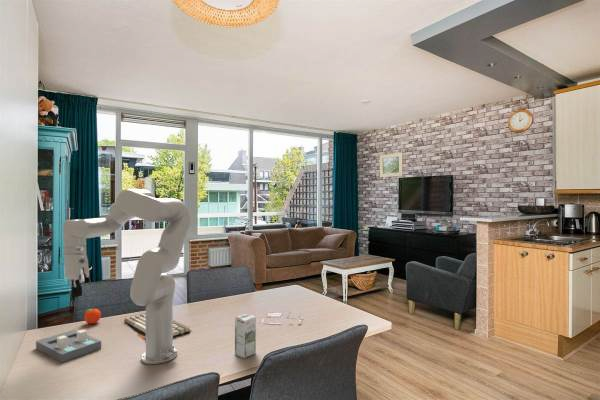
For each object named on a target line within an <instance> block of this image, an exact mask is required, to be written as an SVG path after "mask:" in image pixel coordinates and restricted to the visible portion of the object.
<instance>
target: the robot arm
mask: <svg viewBox="0 0 600 400" xmlns="http://www.w3.org/2000/svg"><path fill="white" fill-rule="evenodd" d="M108 209H109V210H108V211H109V213H108V214H107V215H105V216H103V217H93V218H84V219H83V218H82V219H80V218H79V219H67V220H64V221H63V223H62V233H63V234H62V237H63V256H64V277H65V278H66V279H67V280H68V282H69V284H70V287H71V288H70V289H71V290H70V291H71V295H70V296H71V297H72V298H79V297H81V296H82V295H83V283H85V281H86V279H87V278H89V277H90V269H89V259H88V255H87V239H92V238H97V237H104V236H105V237H106V236H108V235H110V234H112V233H114V232H116V231H118V230H119V229H122V228H123V227H124V225H126V223H127V222H129V221H130V220H132V219H134V218H139V219H141V220H144V221H147V222H150V223H163V222H167V225H166V226H165V228H164V229H163V231H162V233H161V236H160V240H159V243H158V245H157V247H155V248H152V249H148V250H146V251H145V252H143V253H142V254H141V256H140V257H139V259H138V261H137V264H136V266H135V270H134V274H133V278H132V281H131V284H130V285H131V286H130V290H129V294H130V299H131V301H132V302H133V303H134V304H135V305H137V306H141V307H142V306H143V307H144V306H145V307H146V308H145V312H146V318H145V324H146V341H145V352H143V353H142V354H141V356H140V359H141V362H142V363H144V364H147V365H159V364H163V363H167V362H169V361H171V360H173V359H175V358H176V356H178V349H176V348H175V345H174V339H173V320H174V318H173V317H174V315H173V313H174V310H173V309H174V298H175V297H174V295H175V292H176V281H175V278H174V276H172V274H170V273H168V272H171V271H173V270H174V269H176V268H177V266H178V265H179V262H180V259H181V255H182V252H183V249H184V245H185V241H186V238H187V234H188V231H189V228H190V225H191V219H192V218H191V211H190V209H189V207H188V206H187V204H185V203H184V201H181V200H180V199H177V198H171V197H170V198H168V197H166V198H164V197H163V198H158V197H157V198H156V197H155V195H154V193H152V192H151V191H150V190H147V189H144V188H126V189H123V190H121V191H120V192H119V194H117V196H116V199H115V202H113V203H111V204H110V206H109V208H108Z"/></svg>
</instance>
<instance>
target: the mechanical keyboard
mask: <svg viewBox="0 0 600 400" xmlns="http://www.w3.org/2000/svg"><path fill="white" fill-rule="evenodd" d="M145 318H146V311H145V312H144V313H140V314H136V315H135V316H134V315H133V316H132V315H131V316H130V317H124V320H123V322H124V323H125V324H127V326H128V327H129V328H130V329H131V330H132V331H133V332H136V333H137V334H136V336H137V337H138V338H140V339H142V340H143V341H145V342H146V324H145ZM191 332H192V329H190V326H188V325H186V324H183V323H181V322H179V321H177V320H175V319H173V340H174V339H177V338H180V337H182V336H185V335H189V334H191Z"/></svg>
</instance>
